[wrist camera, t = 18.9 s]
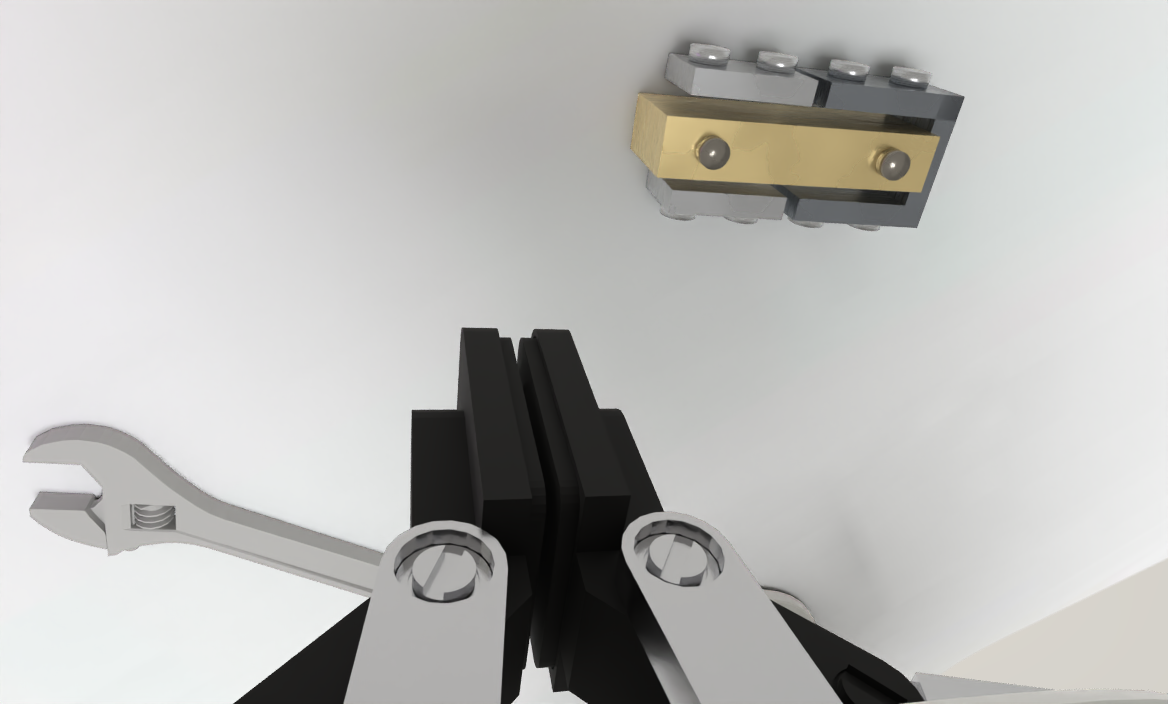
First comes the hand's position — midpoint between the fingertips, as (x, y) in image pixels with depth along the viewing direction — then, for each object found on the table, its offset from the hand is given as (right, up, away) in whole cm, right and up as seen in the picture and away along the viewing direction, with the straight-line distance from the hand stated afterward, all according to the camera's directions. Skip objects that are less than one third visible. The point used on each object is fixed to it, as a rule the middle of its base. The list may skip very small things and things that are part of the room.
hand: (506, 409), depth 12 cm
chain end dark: (+13, +11, +23) cm, 28 cm away
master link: (+9, +11, +22) cm, 26 cm away
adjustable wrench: (-16, -9, +29) cm, 34 cm away
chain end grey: (+7, +11, +21) cm, 25 cm away
